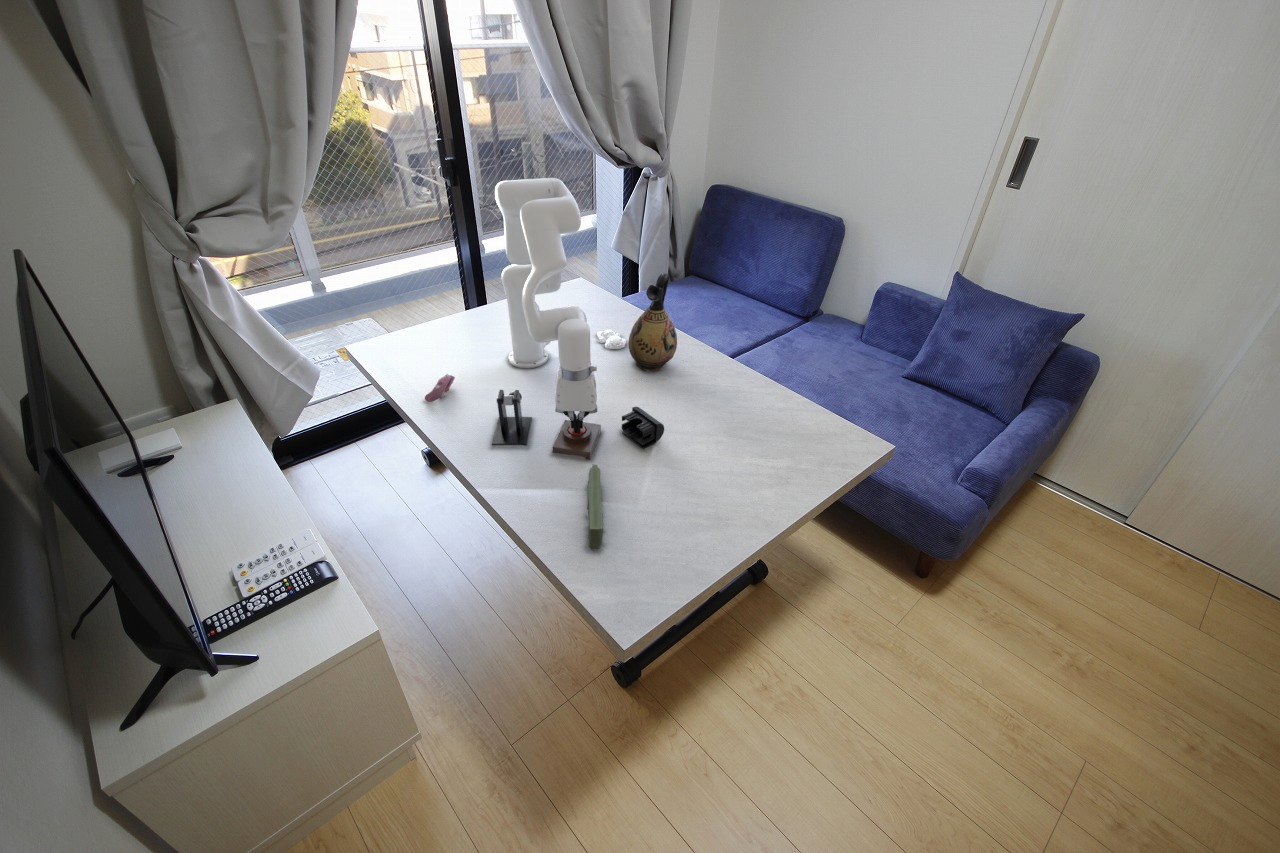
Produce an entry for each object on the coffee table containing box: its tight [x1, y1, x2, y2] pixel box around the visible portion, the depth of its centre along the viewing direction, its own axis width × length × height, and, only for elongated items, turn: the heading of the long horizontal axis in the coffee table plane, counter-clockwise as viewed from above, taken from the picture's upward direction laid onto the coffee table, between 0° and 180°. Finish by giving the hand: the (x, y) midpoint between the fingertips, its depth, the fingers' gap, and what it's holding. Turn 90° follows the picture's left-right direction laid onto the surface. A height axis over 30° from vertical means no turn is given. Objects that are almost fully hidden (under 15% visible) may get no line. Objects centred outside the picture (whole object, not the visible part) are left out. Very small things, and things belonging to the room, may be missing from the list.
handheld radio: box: [586, 463, 604, 551], centre depth 131 cm, size 7×3×25 cm
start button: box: [569, 426, 585, 436], centre depth 149 cm, size 4×4×2 cm
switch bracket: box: [491, 389, 533, 446], centre depth 149 cm, size 12×9×13 cm
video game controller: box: [424, 373, 456, 403], centre depth 164 cm, size 10×5×7 cm, turn 168°
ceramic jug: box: [627, 272, 678, 373], centre depth 176 cm, size 17×15×30 cm
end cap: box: [621, 406, 665, 450], centre depth 153 cm, size 10×7×7 cm
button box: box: [551, 419, 602, 461], centre depth 150 cm, size 12×10×4 cm
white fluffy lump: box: [596, 329, 627, 350], centre depth 194 cm, size 9×12×3 cm
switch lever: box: [504, 390, 523, 406], centre depth 152 cm, size 13×4×4 cm, turn 2°
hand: (577, 429), depth 148 cm, fingers closed
